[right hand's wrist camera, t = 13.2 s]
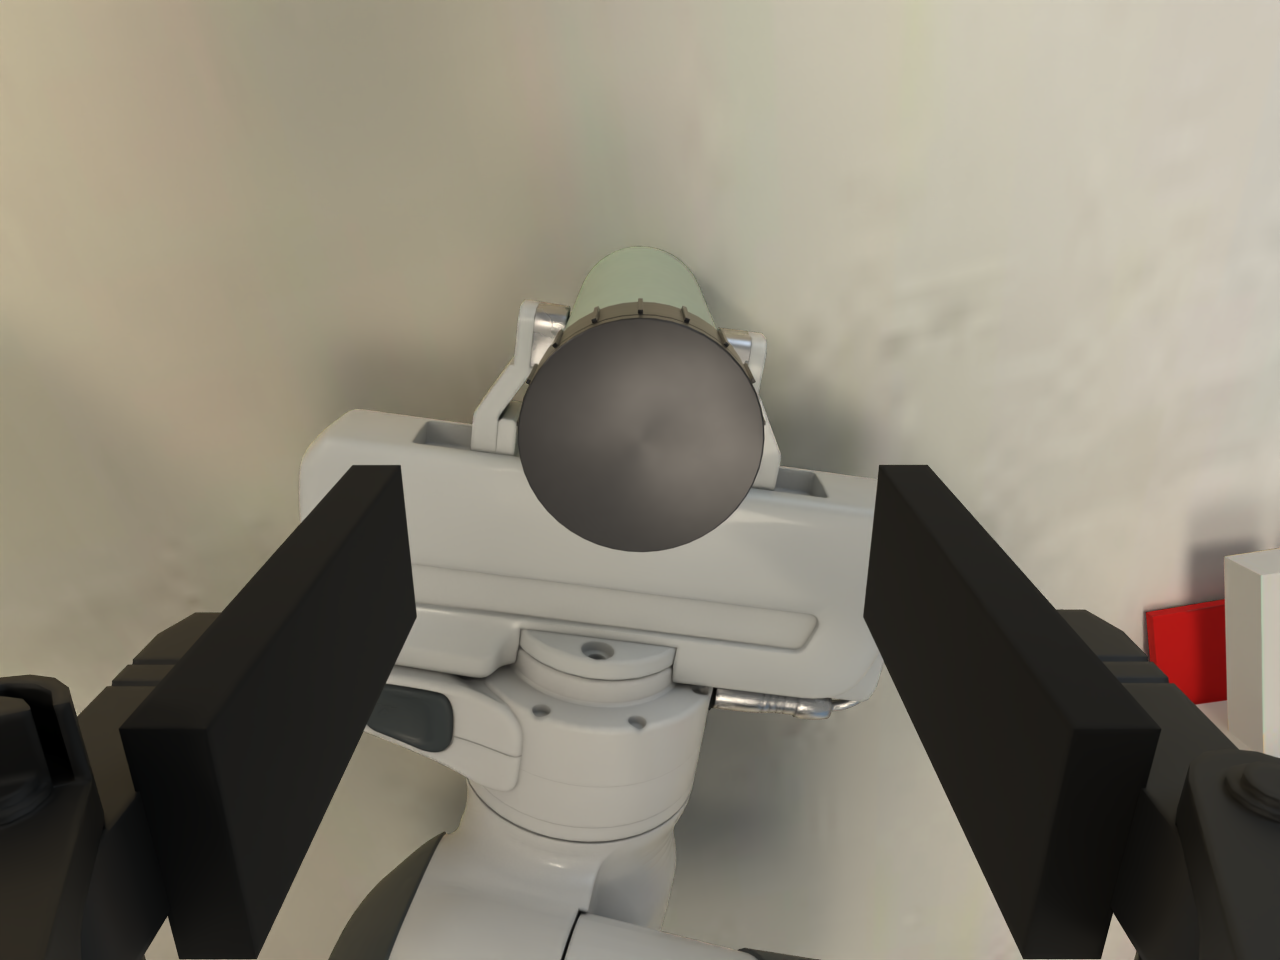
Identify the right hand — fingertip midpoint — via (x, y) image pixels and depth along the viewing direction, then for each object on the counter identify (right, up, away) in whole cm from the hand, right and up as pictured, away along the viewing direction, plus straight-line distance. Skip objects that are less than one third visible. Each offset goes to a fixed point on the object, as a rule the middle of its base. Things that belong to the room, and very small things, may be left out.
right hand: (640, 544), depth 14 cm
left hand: (0, +6, +13) cm, 14 cm away
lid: (0, +2, +5) cm, 5 cm away
